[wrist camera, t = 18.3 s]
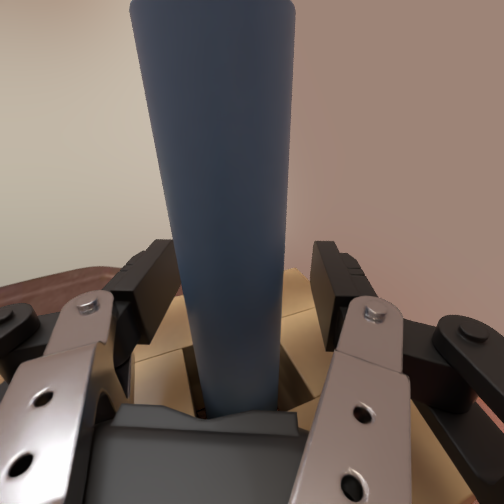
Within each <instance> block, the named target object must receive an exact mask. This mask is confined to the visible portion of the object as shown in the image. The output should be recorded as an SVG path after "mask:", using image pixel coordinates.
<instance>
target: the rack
mask: <svg viewBox="0 0 504 504" xmlns="http://www.w3.org/2000/svg"><path fill="white" fill-rule="evenodd" d="M133 353H134V355H135V385H134V404H149V405H164V406H167V407H169V408H172V409H175V410H178V411H180V412H183V413H186V414H189V415H191V416H194V417H197V412H196V411H197V410H200V409H202V408H205V405H204V400H203V394H202V389H201V384H200V379H199V373H198V368H197V363H196V358H195V352H194V347H193V342H192V337H191V331H190V326H189V321H188V316H187V310H186V305H185V300H184V295H181V296H177V297H174V299H173V300H172V302H171V304H170V306H169V308H168V310H167V312H166V314H165V316H164V318H163V320H162V322H161V324H160V326H159V328H158V330H157V332H156V334H155V336H154V338H153V339H152V341H151V343H150V345H138V344H137V345H136V347H135V348H134V350H133ZM332 356H333V352H326V351H325V347H324V343H323V338H322V334H321V330H320V325H319V321H318V317H317V312H316V308H315V304H314V300H313V295H312V291H311V286H310V281H309V280H308V279H307V278H306V277H305V276H304V275H303V274H301V272H300V271H298V270H297V269H296V268H292V269H288V270H284V274H283V296H282V318H281V339H280V361H279V383H278V404H277V406H278V408H279V410H280V411H289V412H297V418H298V427H300V428H302V429H305V430H308V431H310V429H311V426H312V422H313V419H314V416H315V412H316V409H317V406H318V402H319V399H320V396H321V392H322V389H323V386H324V382H325V379H326V376H327V372H328V369H329V366H330V362H331V359H332ZM3 381H5V380H4V379H3V378H2V376H1V375H0V384H1V383H2V382H3ZM410 401H411V479H412V504H472V503H473V502H474V501H475V500H476V497H475V496H474V494H473V493H472V491H471V490H470V488H469V487H468V485H467V484H466V482H465V481H464V479H463V478H462V476H461V475H460V473H459V472H458V470H457V468H456V467H455V465H454V464H453V462H452V461H451V459H450V458H449V456H448V455H447V453H446V452H445V450H444V449H443V447H442V446H441V444H440V443H439V441H438V440H437V438H436V437H435V435H434V434H433V432H432V430H431V429H430V427H429V426H428V424H427V423H426V421H425V420H424V418H423V417H422V415H421V414H420V412H419V411H418V409H417V408H416V406H415V405H414V403H413V401H412V400H411V399H410ZM197 418H198V417H197Z"/></svg>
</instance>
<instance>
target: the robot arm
mask: <svg viewBox="0 0 504 504" xmlns="http://www.w3.org/2000/svg"><path fill="white" fill-rule="evenodd" d="M180 285H181V279H180V274H179V269H178V263H177V258H176V253H175V248H174V242H173V240H163V239H160V240H159V239H156V240H155V241H154V242H153V243H152V244H151V245H150V246H149V247H148V248H147V249H146V251H142V252H140V253H138V254H137V255H135V256H133V257H132V258H131V259H130V260H129V261H128V262H127V263H126V266H124V267H123V268H122V269H121V270H120V272H118V273H117V274H116V275H115V276H114V277H113V278H112V279H111V280H110V281H109V282H108V283H107V285H106V286H105V287H104V288H103V289H102V290H96V291H90V292H87V293H84V294H81V295H79V296H77V297H75V298H73V299H72V300H70V301H69V302H68V303H66V304H65V305H64V307H63V308H62V310H61V312H56V313H51V314H46V315H40V316H37V315H36V313H35V311H34V309H33V308H32V306H31V305H29V304H26V303H18V304H12V305H8V306H4V307H1V308H0V375H1V376H2V378H3V379H4V380H5V381H3V382H2V383H1V384H0V504H412V479H411V401H410V399H411V400H412V401H413V403H414V405H415V406H416V408H417V409H418V411H419V412H420V414H421V415H422V417H423V418H424V420H425V421H426V423H427V424H428V426H429V427H430V429H431V430H432V432H433V434H434V435H435V437H436V438H437V440H438V441H439V443H440V444H441V446H442V447H443V449H444V450H445V452H446V453H447V455H448V456H449V458H450V459H451V461H452V462H453V464H454V465H455V467H456V468H457V470H458V472H459V473H460V475H461V476H462V478H463V479H464V481H465V482H466V484H467V485H468V487H469V488H470V490H471V491H472V493H473V494H474V496H475V497H476V499H477V500H478V502H479V503H480V504H504V433H503V432H502V431H501V430H500V429H499V428H498V426H497V425H496V424H495V423H494V422H493V421H492V420H491V419H490V417H489V416H488V415H487V414H486V413H485V412H484V411H483V409H482V408H481V407H480V406H479V405H478V404H477V403H476V399H477V398H478V396H479V397H480V398H481V399H482V400H483V401H484V402H485V403H486V404H487V406H488V407H489V408H490V409H491V410H492V411H493V412H494V413H495V414H496V415H497V417H498V418H499V419H500V420H501V421H502V422H503V423H504V337H503V336H502V335H501V334H499V333H498V332H497V331H495V330H494V329H493V328H491V327H490V326H488V325H486V324H484V323H482V322H480V321H478V320H475V319H472V318H469V317H465V316H460V315H447V316H444V317H442V318H441V319H440V320H439V322H438V324H437V326H436V327H435V326H430V325H426V324H422V323H418V322H413V321H410V320H407V319H404V318H403V316H402V313H401V312H400V310H399V309H398V308H397V307H395V306H394V305H393V304H392V303H390V302H388V301H386V300H384V299H381V298H378V296H377V295H376V293H375V291H374V289H373V288H372V286H371V284H370V282H369V281H368V279H367V278H366V276H365V274H364V272H363V270H362V269H361V267H360V265H359V264H358V262H357V260H356V259H354V258H353V257H352V256H350V255H349V254H348V253H339V250H338V249H337V246H336V244H335V243H334V241H315V242H314V245H313V253H312V263H311V272H310V286H311V291H312V295H313V300H314V304H315V308H316V312H317V317H318V321H319V325H320V330H321V334H322V338H323V343H324V347H325V351H326V352H333V356H332V359H331V362H330V366H329V369H328V372H327V376H326V379H325V382H324V386H323V389H322V392H321V396H320V399H319V402H318V406H317V409H316V412H315V416H314V419H313V422H312V426H311V429H310V431H308V430H305V429H302V428H300V427H298V418H297V412H289V411H269V410H249V411H244V412H240V413H235V414H231V415H226V416H222V417H217V418H213V419H207V420H205V419H200V418H197V417H194V416H191V415H189V414H186V413H183V412H180V411H178V410H175V409H172V408H169V407H167V406H164V405H149V404H134V385H135V355H134V353H133V350H134V348H135V347H136V345H137V344H138V345H150V343H151V341H152V339H153V338H154V336H155V334H156V332H157V330H158V328H159V326H160V324H161V322H162V320H163V318H164V316H165V314H166V312H167V310H168V308H169V306H170V304H171V302H172V300H173V299H174V297H175V295H176V293H177V291H178V289H179V287H180Z"/></svg>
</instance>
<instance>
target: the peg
mask: <svg viewBox="0 0 504 504" xmlns="http://www.w3.org/2000/svg"><path fill="white" fill-rule="evenodd" d="M129 11H130V17H131V22H132V27H133V32H134V38H135V43H136V48H137V53H138V59H139V64H140V69H141V74H142V80H143V85H144V89H145V95H146V100H147V106H148V111H149V116H150V121H151V127H152V132H153V137H154V142H155V148H156V152H157V158H158V163H159V169H160V174H161V179H162V185H163V189H164V195H165V200H166V206H167V210H168V216H169V221H170V227H171V232H172V237H173V242H174V248H175V253H176V258H177V263H178V269H179V274H180V279H181V284H182V289H183V295H184V300H185V305H186V310H187V316H188V321H189V326H190V331H191V337H192V342H193V347H194V352H195V358H196V363H197V368H198V373H199V379H200V384H201V389H202V394H203V400H204V405H205V410H206V415H207V419H213V418H217V417H222V416H226V415H231V414H235V413H240V412H244V411H249V410H269V411H277V404H278V383H279V361H280V339H281V318H282V296H283V274H284V253H285V231H286V209H287V188H288V165H289V143H290V123H291V122H290V121H291V100H292V79H293V78H292V77H293V58H294V35H295V14H296V13H295V7H294V4H293V3H292V2H291V1H290V0H132V1H131V3H130V9H129Z"/></svg>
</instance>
